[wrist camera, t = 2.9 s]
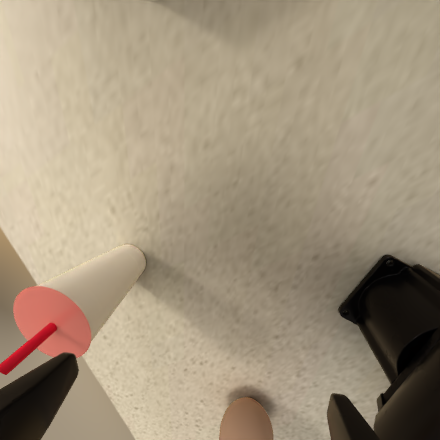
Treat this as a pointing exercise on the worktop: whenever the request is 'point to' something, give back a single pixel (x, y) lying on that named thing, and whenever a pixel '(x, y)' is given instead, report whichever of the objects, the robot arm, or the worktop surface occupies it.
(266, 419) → the egg
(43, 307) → the cup
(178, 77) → the worktop surface
